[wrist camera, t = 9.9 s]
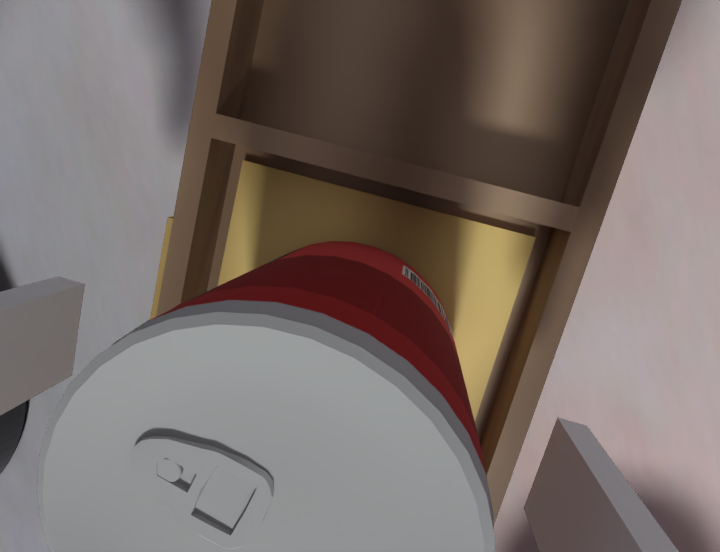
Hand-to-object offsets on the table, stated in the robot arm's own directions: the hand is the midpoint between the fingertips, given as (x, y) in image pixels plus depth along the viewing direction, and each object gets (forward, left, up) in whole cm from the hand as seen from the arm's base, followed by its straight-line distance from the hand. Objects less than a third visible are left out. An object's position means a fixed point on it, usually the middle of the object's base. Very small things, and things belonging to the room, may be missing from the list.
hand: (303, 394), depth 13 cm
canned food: (0, 0, -6) cm, 6 cm away
